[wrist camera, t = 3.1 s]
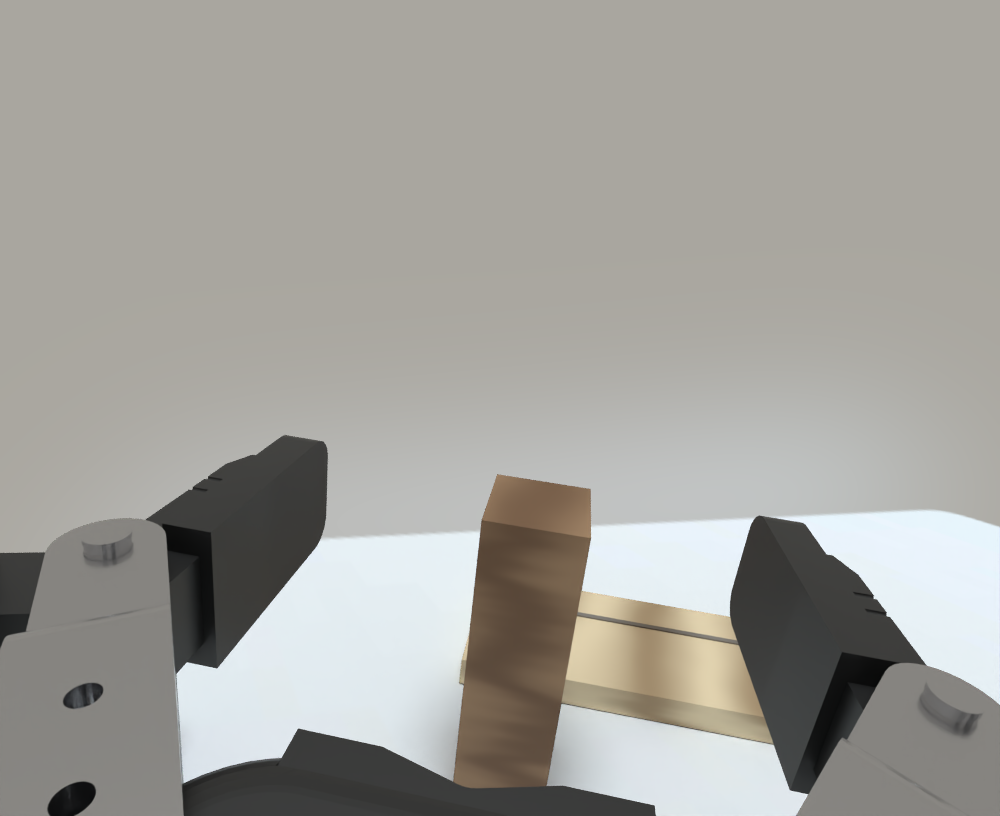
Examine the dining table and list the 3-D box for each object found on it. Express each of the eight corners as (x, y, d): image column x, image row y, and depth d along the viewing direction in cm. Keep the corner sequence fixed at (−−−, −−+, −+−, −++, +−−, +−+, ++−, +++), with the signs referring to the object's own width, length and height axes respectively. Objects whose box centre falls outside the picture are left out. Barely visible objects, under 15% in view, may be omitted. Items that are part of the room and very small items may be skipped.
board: (822, 654, 38) (829, 633, 37) (879, 764, 30) (890, 739, 30) (483, 594, 40) (486, 573, 40) (459, 683, 33) (461, 658, 32)
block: (556, 622, 38) (589, 418, 34) (540, 815, 26) (590, 538, 21) (494, 611, 39) (519, 408, 34) (451, 796, 26) (481, 519, 22)
